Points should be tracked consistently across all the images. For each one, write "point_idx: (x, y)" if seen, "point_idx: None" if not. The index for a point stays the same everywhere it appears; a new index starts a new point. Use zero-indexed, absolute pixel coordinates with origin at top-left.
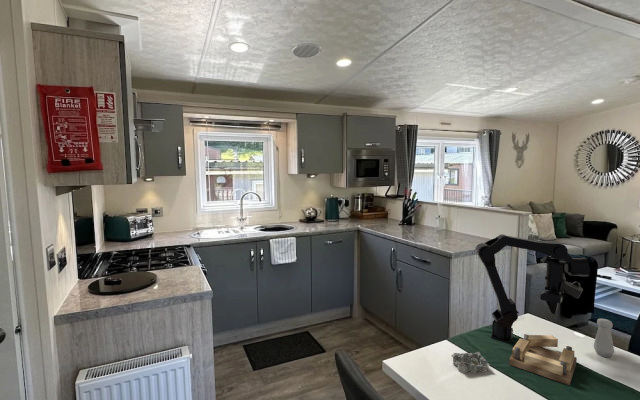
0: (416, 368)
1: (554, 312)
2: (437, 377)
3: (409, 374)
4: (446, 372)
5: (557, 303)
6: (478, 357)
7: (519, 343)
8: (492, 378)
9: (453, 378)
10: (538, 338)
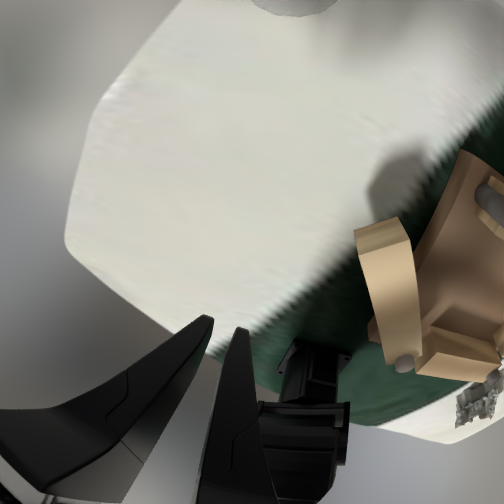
0: (465, 430)
1: (248, 351)
2: None
3: (476, 429)
4: None
5: (274, 493)
6: (464, 402)
7: (454, 373)
8: None
9: (497, 402)
10: (417, 325)
